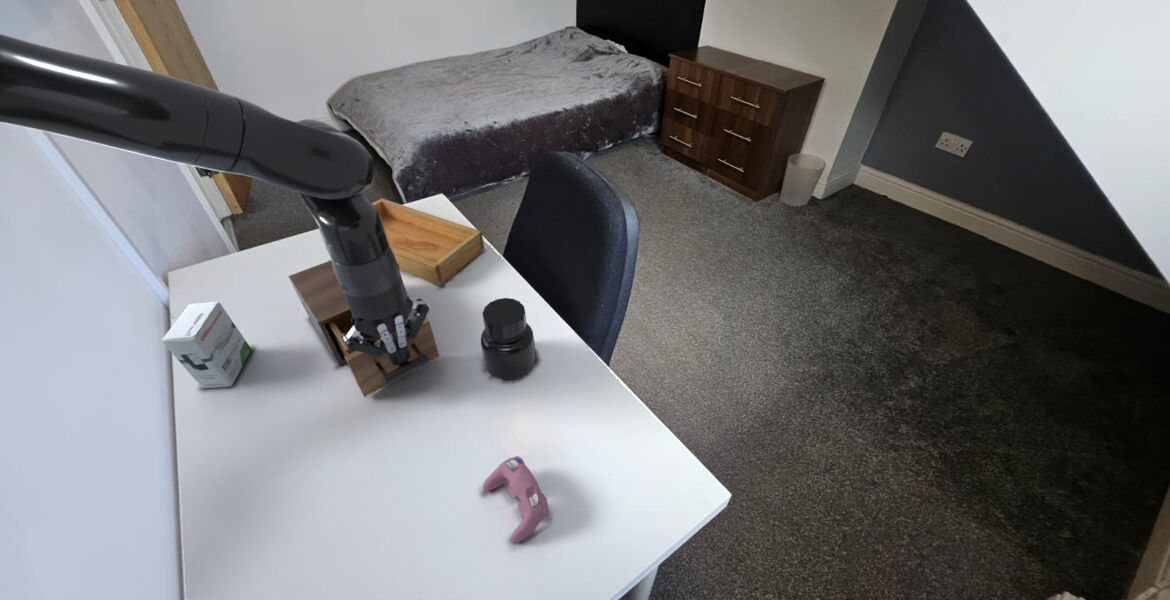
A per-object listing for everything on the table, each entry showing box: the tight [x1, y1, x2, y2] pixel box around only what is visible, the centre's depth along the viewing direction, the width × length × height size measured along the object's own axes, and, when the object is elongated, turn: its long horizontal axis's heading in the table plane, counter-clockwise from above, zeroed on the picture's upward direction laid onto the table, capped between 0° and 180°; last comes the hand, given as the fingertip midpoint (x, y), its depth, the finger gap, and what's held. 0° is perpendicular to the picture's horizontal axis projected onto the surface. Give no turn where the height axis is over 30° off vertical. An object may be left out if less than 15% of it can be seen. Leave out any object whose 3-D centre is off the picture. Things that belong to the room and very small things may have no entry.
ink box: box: [161, 301, 252, 389], centre depth 77 cm, size 9×5×12 cm, turn 6°
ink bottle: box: [480, 297, 536, 380], centre depth 79 cm, size 10×9×12 cm
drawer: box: [326, 312, 440, 398], centre depth 79 cm, size 19×13×9 cm
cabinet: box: [288, 259, 408, 367], centre depth 86 cm, size 16×15×11 cm
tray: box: [372, 198, 485, 286], centre depth 106 cm, size 31×15×6 cm, turn 62°
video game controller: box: [482, 455, 549, 544], centre depth 62 cm, size 10×5×7 cm, turn 34°
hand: (401, 361), depth 74 cm, fingers closed
